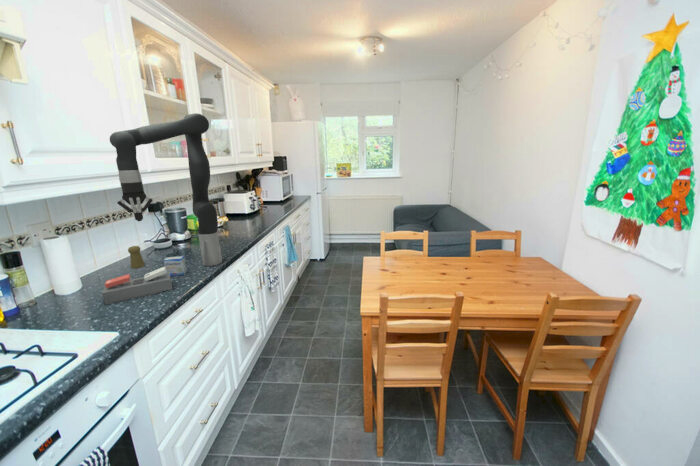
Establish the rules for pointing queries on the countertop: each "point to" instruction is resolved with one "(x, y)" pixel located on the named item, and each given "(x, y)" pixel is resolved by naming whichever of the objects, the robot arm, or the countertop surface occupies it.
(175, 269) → the medicine box
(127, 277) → the block
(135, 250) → the cork
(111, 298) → the rocker switch panel
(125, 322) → the countertop surface
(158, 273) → the white rocker
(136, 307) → the countertop surface
